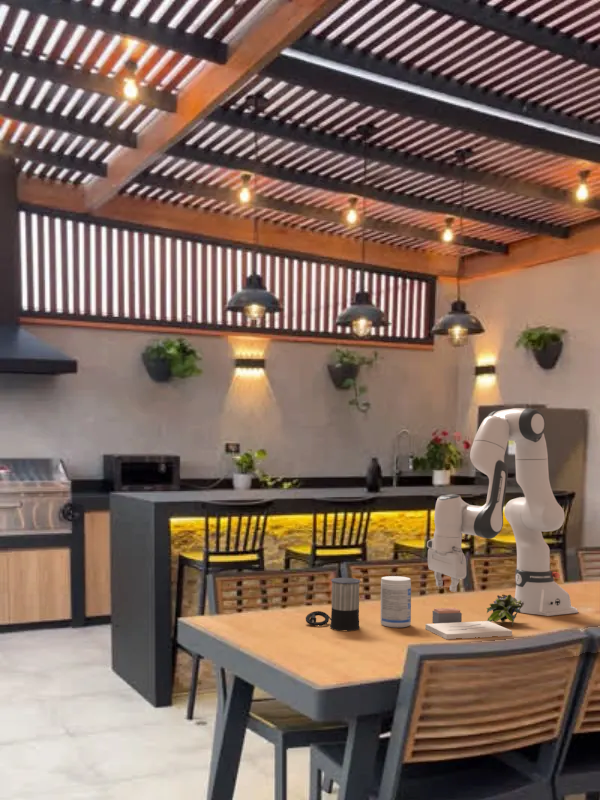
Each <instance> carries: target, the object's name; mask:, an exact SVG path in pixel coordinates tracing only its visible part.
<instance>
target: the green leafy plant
mask: <svg viewBox="0 0 600 800" xmlns="http://www.w3.org/2000/svg"><path fill="white" fill-rule="evenodd" d="M496 597H497V598H496V599H495V600H494V601H493V602H492V603H489V606H490V607H486V614H488V613H489V612H492V613H490V615H489V616H488V617H487V620H486V621H490V622H493V623H496V622H497V621H498V622H499V621H501V622H505V621H506V620H509V621H510V622H511V627H513V625H514V622H515V619H516V618H517V614H518V613H519V614H520V613H521V612H520V609H521V607H523V605H524V603H523V602H522V603H521V600H519V601H517V599H516V598H515V597H514V596H512V595H511V594H510V593H509V594H508V595H507V594H504V593H503V594H501V595H499V594H498V595H497V596H496ZM517 603H518V604H517ZM519 604H521V605H519ZM518 608H519V609H518ZM514 613H515V614H514Z"/></svg>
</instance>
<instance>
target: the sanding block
mask: <svg viewBox="0 0 600 800" xmlns="http://www.w3.org/2000/svg"><path fill="white" fill-rule="evenodd" d="M462 615H463V613H462V612H461V610H460V609H458V608H456V607H441V608H440V607H434V608H433V610H432V620H431V621H432V622H431V624H433V623H434V624H435V623H455V622H463V621H462Z"/></svg>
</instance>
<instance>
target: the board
mask: <svg viewBox="0 0 600 800" xmlns="http://www.w3.org/2000/svg"><path fill="white" fill-rule="evenodd" d="M424 629H425V630H426V631H428V632H431V633H432V634H435V635H437V636H439V637H441V638H443V639H444V640H457V639H456V638H462V639H477V638H478V637H480V638H493V637H492V636H498V637H511V636H513V630H511V629H509V628H507V627H504V626H501V625H499V624H497V623H496V622H493V621H491V622H490V621H487V620H482V621H481V620H477V621H462V622H455V623H435V624H433V623H425V627H424ZM475 637H476V638H475ZM478 639H479V638H478Z"/></svg>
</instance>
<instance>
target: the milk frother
mask: <svg viewBox="0 0 600 800" xmlns="http://www.w3.org/2000/svg"><path fill="white" fill-rule="evenodd" d="M360 582H361V580H360V579H358V578H354V577H334V578H332V579H331V614H330V615H331V616H329V614H327V613H326V612H324V611H321V610H315V611H311V612H310V613H308V614H307V615H306V616H305V621H306V623H307V624H308V625H311V626H315V625H316V627H317V626H318V625H319V626H318V627H322V626H325V625H327V624H328V623H329V622H330V625H329V628H330V627H331V628H330V629H332V628H333V629H332V630H334V629H336V630H335V631H340V630H347V631H346V632H351V630H354V631H357V630H360ZM317 616H319V617H323V618H324V620H322V621H317ZM329 620H330V621H329Z"/></svg>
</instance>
